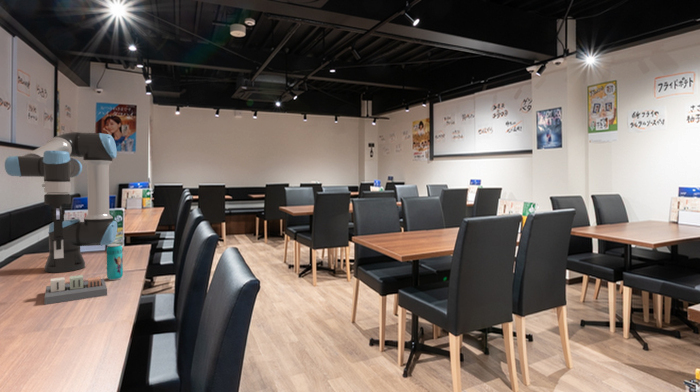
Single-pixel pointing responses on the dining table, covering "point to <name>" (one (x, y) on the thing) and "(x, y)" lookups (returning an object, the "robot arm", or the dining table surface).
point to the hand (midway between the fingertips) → (58, 257)
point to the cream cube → (57, 284)
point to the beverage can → (114, 262)
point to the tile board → (75, 293)
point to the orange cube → (94, 282)
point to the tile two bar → (76, 282)
